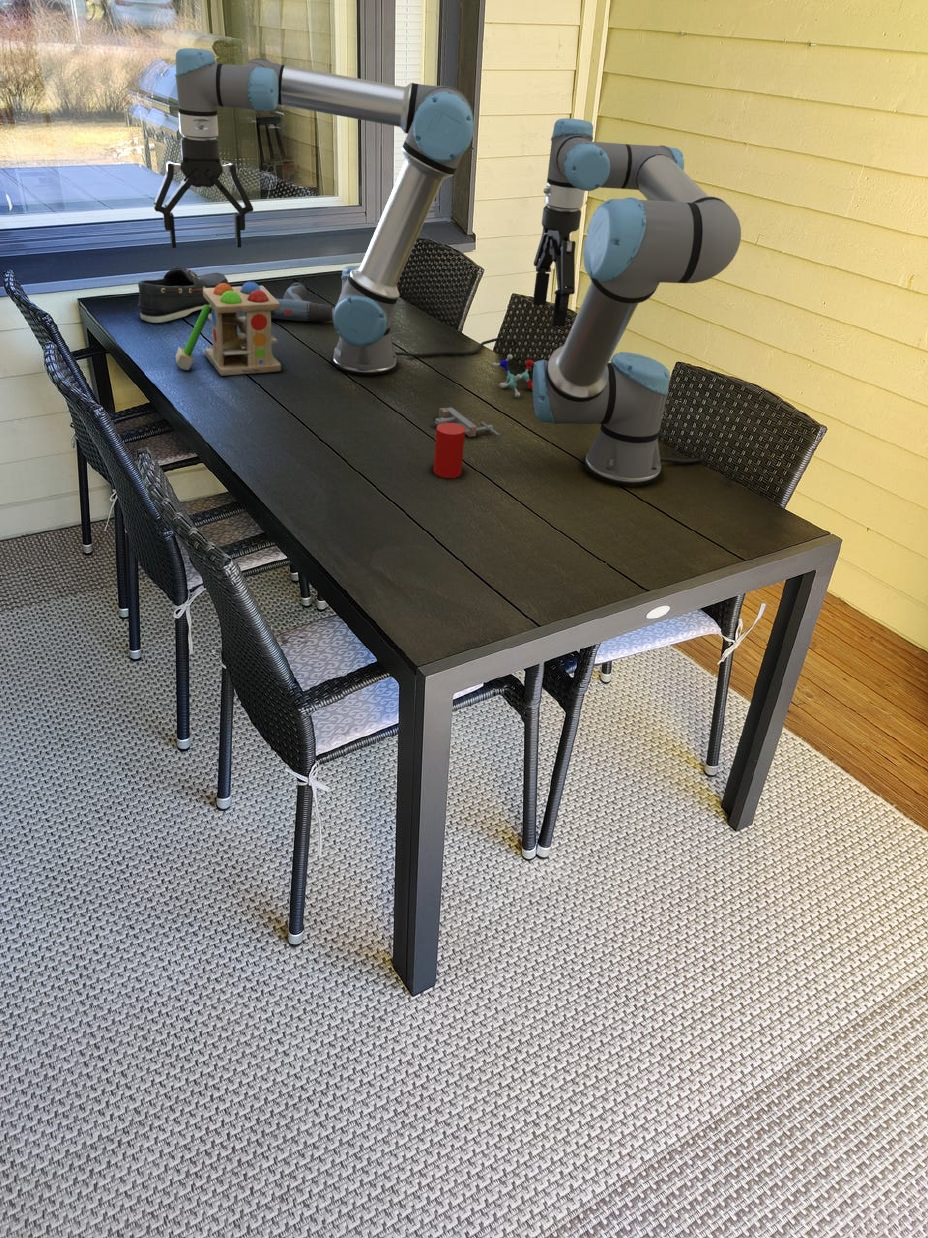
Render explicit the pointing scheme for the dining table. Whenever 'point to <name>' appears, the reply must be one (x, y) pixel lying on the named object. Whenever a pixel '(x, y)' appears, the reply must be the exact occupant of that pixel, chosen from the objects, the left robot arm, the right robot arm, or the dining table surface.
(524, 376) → the molecular model
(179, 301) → the boat shoe
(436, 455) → the tin
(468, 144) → the left robot arm
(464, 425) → the clamp
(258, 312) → the pounding bench toy
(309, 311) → the power drill
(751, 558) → the dining table surface
